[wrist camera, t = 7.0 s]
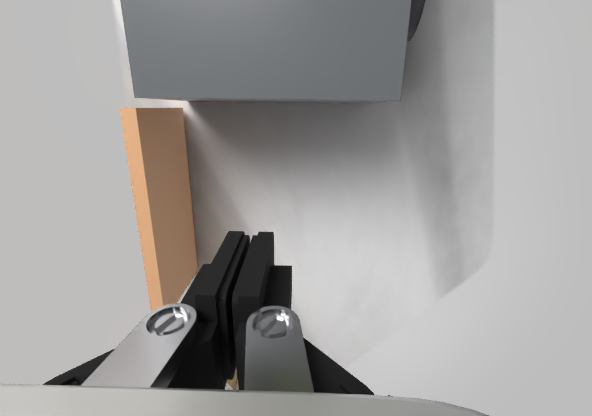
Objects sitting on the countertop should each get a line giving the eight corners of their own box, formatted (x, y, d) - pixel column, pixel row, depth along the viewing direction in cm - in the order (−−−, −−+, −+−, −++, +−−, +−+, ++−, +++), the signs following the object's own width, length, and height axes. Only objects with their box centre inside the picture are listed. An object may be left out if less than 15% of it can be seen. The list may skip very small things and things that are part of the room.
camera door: (182, 107, 27) (135, 108, 19) (197, 269, 32) (165, 320, 24) (162, 107, 27) (107, 107, 19) (180, 269, 32) (142, 320, 24)
